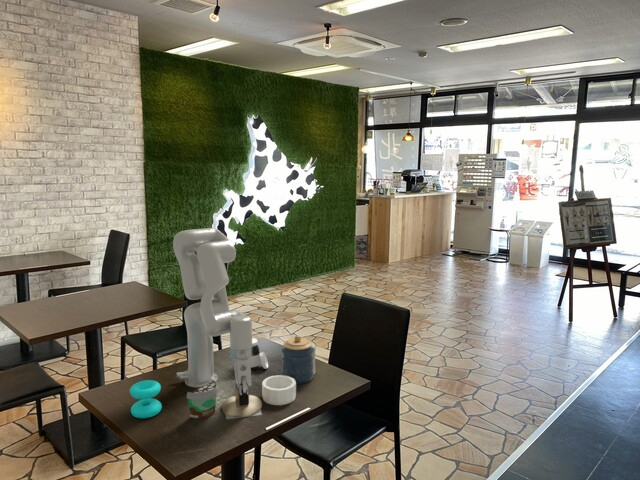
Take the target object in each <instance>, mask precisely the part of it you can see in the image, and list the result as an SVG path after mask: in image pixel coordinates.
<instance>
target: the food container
mask: <svg viewBox="0 0 640 480" xmlns="http://www.w3.org/2000/svg"><path fill="white" fill-rule="evenodd" d="M186 392H187V393H186V396H185V397H186V399H188V401H187V402H188V408H189V417H190V419H194V420H203V419H207V418H210V417H212V416H214V415H215V412H216V406H217V405H216V402H217V401H216V400H217V393H218V392H219V386H218V382H216V381H214V380H212V382H211V383H209V384H207V385H204V386H201V387H200V388H196V389H195V390H193V391H192V392H190V391H186Z"/></svg>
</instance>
